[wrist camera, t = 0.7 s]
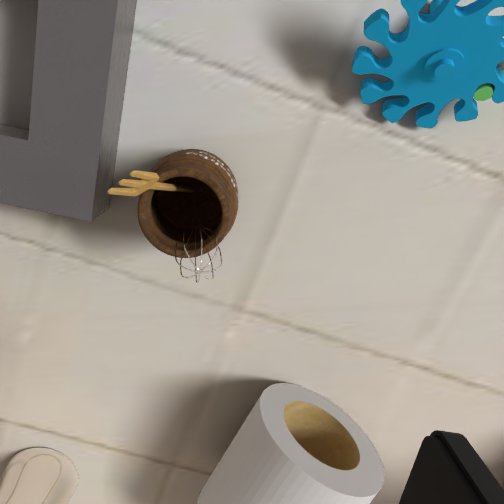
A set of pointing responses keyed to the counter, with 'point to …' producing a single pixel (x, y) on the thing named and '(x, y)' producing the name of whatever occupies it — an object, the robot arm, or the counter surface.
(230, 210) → the utensil holder
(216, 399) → the counter surface
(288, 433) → the toilet paper
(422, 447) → the robot arm
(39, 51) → the hollow square block
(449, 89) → the gear
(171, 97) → the counter surface
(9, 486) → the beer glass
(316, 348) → the counter surface
